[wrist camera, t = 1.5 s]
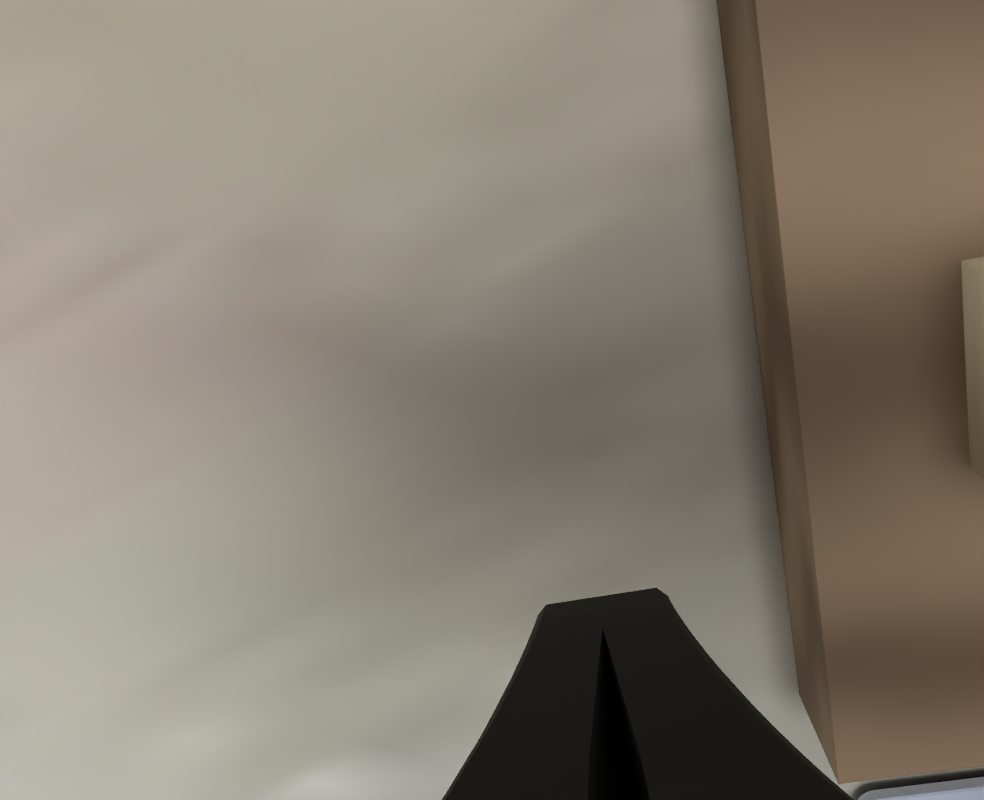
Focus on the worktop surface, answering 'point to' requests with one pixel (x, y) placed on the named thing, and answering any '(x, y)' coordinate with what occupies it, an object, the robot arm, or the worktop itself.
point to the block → (974, 357)
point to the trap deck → (869, 358)
